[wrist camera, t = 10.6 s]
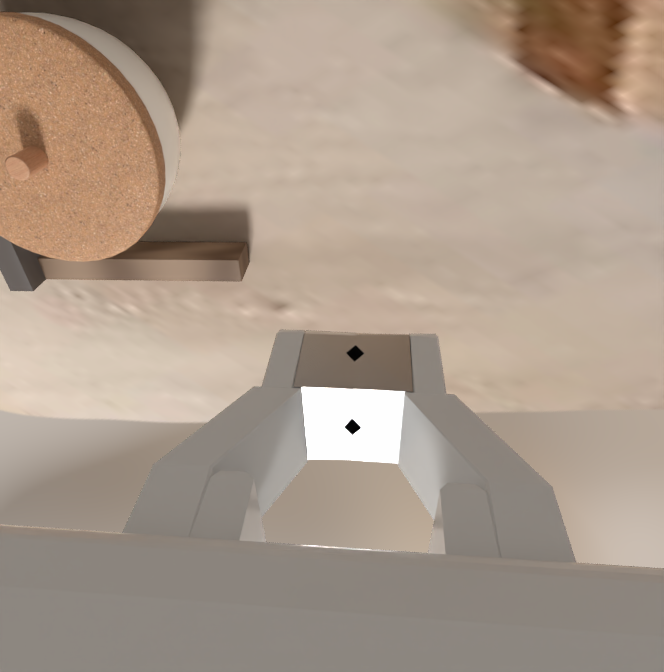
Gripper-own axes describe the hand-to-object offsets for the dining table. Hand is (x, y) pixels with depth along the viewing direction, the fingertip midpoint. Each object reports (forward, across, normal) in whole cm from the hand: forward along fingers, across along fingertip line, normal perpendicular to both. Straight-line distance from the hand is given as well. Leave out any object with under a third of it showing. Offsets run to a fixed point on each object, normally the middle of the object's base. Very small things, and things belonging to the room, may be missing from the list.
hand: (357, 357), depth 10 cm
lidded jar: (+22, +15, +1) cm, 26 cm away
